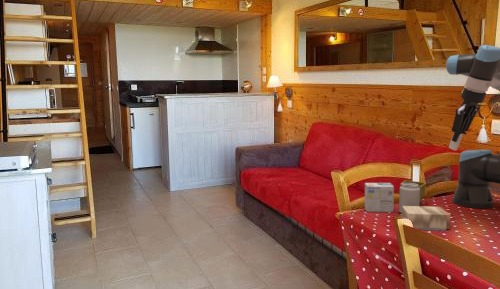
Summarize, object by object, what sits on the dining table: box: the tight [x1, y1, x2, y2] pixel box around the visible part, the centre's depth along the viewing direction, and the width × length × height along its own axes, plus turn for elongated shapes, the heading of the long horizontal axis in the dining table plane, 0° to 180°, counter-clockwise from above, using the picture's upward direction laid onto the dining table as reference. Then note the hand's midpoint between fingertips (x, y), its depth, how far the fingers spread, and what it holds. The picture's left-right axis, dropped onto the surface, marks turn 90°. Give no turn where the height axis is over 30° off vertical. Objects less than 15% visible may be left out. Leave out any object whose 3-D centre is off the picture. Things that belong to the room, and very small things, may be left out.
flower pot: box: [399, 180, 427, 204], centre depth 174 cm, size 9×9×9 cm
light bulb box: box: [364, 182, 395, 213], centre depth 165 cm, size 11×7×11 cm, turn 84°
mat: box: [418, 228, 448, 232], centre depth 148 cm, size 13×13×1 cm
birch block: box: [401, 205, 452, 230], centre depth 147 cm, size 5×10×14 cm
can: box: [398, 182, 421, 215], centre depth 160 cm, size 8×8×12 cm
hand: (452, 148), depth 154 cm, fingers closed
